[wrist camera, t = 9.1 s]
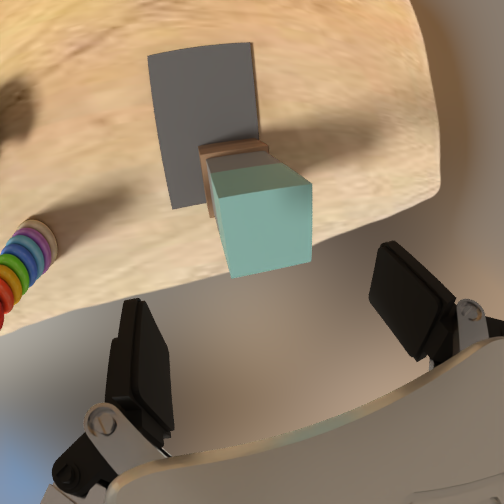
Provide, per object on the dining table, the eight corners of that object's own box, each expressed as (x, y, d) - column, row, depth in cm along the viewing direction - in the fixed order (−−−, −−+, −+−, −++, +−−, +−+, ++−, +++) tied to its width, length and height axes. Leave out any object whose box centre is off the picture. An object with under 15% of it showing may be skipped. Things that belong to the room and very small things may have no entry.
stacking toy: (47, 211, 30) (-22, 296, 14) (66, 259, 34) (21, 357, 19) (11, 224, 29) (-55, 303, 13) (30, 268, 33) (-18, 356, 17)
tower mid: (205, 158, 26) (210, 173, 21) (264, 150, 27) (282, 163, 22) (214, 212, 29) (220, 238, 24) (267, 203, 30) (285, 226, 25)
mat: (147, 56, 24) (147, 56, 24) (249, 43, 26) (250, 42, 25) (172, 208, 35) (172, 209, 34) (262, 192, 36) (263, 193, 36)
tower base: (197, 146, 31) (200, 155, 26) (254, 137, 32) (268, 145, 27) (206, 199, 35) (210, 217, 30) (259, 190, 36) (272, 207, 31)
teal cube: (210, 173, 21) (218, 198, 16) (282, 162, 22) (312, 183, 17) (220, 238, 24) (231, 278, 19) (285, 226, 25) (311, 261, 20)
